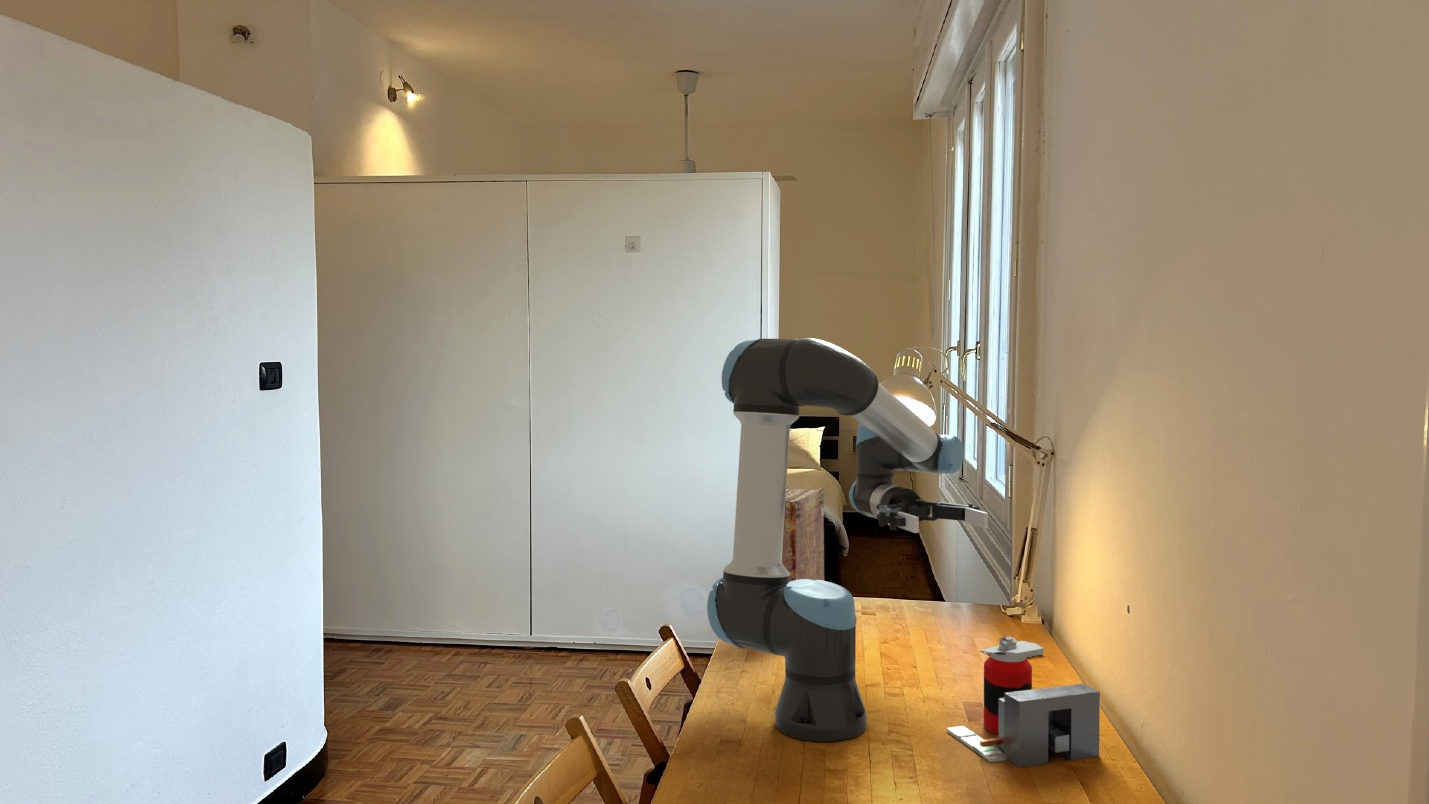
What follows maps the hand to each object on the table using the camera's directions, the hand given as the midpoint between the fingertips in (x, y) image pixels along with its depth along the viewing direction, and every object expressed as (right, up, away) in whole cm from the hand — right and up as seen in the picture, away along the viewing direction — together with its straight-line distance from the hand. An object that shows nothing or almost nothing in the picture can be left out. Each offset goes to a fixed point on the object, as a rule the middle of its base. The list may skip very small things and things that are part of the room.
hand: (951, 522), depth 177 cm
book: (-24, -30, +54) cm, 66 cm away
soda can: (+7, -33, -11) cm, 35 cm away
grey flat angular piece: (+19, -31, +31) cm, 48 cm away
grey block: (+8, -33, -22) cm, 40 cm away
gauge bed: (+7, -33, -17) cm, 38 cm away
